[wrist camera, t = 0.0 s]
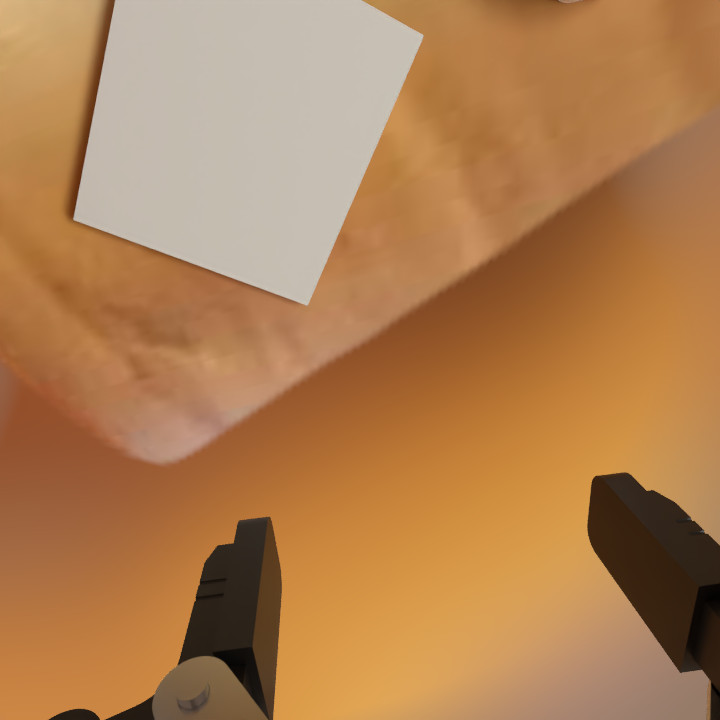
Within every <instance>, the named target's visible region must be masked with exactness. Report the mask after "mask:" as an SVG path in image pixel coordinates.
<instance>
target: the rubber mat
mask: <svg viewBox="0 0 720 720" xmlns="http://www.w3.org/2000/svg"><path fill="white" fill-rule="evenodd" d="M423 37H424V35H422V34H420V33H419V32H417V31H415V30H413V29H411V28H410V27H408V26H406V25H404V24H403V23H401V22H399V21H397V20H395V19H394V18H392V17H390V16H388V15H387V14H385V13H383V12H381V11H379V10H378V9H376V8H374V7H372V6H371V5H369V4H367V3H365V2H363V1H362V0H115V4H114V10H113V15H112V20H111V25H110V31H109V36H108V41H107V46H106V51H105V57H104V62H103V67H102V72H101V78H100V83H99V88H98V93H97V98H96V104H95V109H94V114H93V119H92V125H91V130H90V135H89V140H88V145H87V151H86V156H85V161H84V166H83V172H82V177H81V182H80V187H79V192H78V198H77V203H76V208H75V213H74V219H73V220H75V221H78V222H80V223H83V224H86V225H89V226H91V227H94V228H97V229H99V230H102V231H105V232H108V233H110V234H113V235H116V236H119V237H121V238H124V239H127V240H130V241H132V242H135V243H138V244H140V245H143V246H146V247H149V248H151V249H154V250H157V251H160V252H162V253H165V254H168V255H171V256H173V257H176V258H179V259H181V260H184V261H187V262H190V263H192V264H195V265H198V266H201V267H203V268H206V269H209V270H212V271H214V272H217V273H220V274H222V275H225V276H228V277H231V278H233V279H236V280H239V281H242V282H244V283H247V284H250V285H253V286H255V287H258V288H261V289H263V290H266V291H269V292H272V293H274V294H277V295H280V296H283V297H285V298H288V299H291V300H293V301H296V302H299V303H302V304H304V305H307V306H308V303H309V301H310V299H311V296H312V294H313V292H314V289H315V287H316V285H317V282H318V280H319V278H320V276H321V273H322V271H323V269H324V266H325V264H326V262H327V259H328V257H329V255H330V252H331V250H332V248H333V245H334V243H335V241H336V238H337V236H338V234H339V231H340V229H341V227H342V224H343V222H344V220H345V218H346V215H347V213H348V211H349V208H350V206H351V204H352V201H353V199H354V197H355V194H356V192H357V190H358V187H359V185H360V183H361V180H362V178H363V176H364V173H365V171H366V169H367V167H368V164H369V162H370V160H371V157H372V155H373V153H374V150H375V148H376V146H377V143H378V141H379V139H380V136H381V134H382V132H383V129H384V127H385V125H386V122H387V120H388V118H389V115H390V113H391V111H392V109H393V106H394V104H395V102H396V99H397V97H398V95H399V92H400V90H401V88H402V85H403V83H404V81H405V78H406V76H407V74H408V71H409V69H410V67H411V64H412V62H413V60H414V57H415V55H416V53H417V51H418V48H419V46H420V44H421V41H422V39H423Z"/></svg>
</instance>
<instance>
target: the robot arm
mask: <svg viewBox="0 0 720 720" xmlns="http://www.w3.org/2000/svg"><path fill="white" fill-rule="evenodd" d="M588 536H589V539H590V542H591V545H592V547H593V549H594V551H595V553H596V554H597V555H598V557H599V558H600V560H601V561H602V563H603V564H604V566H605V567H606V568H607V570H608V571H609V573H610V574H611V575H612V577H613V578H614V580H615V581H616V583H617V584H618V585H619V587H620V588H621V589H622V591H623V592H624V594H625V595H626V597H627V598H628V599H629V601H630V602H631V604H632V605H633V607H634V608H635V609H636V611H637V612H638V614H639V615H640V616H641V618H642V619H643V621H644V622H645V624H646V625H647V626H648V628H649V629H650V631H651V632H652V633H653V635H654V636H655V638H656V639H657V641H658V642H659V643H660V645H661V646H662V648H663V649H664V650H665V652H666V653H667V655H668V656H669V657H670V659H671V660H672V662H673V663H674V665H675V666H676V667H677V669H678V670H679V672H680V673H682V672H688V671H695V670H703V671H704V673H705V674H706V675H707V677H708V678H709V683H708V688H707V708H706V720H720V545H719V544H718V543H717V542H715V541H714V540H713V539H712V538H711V537H710V536H709V535H708V534H705V533H704V530H703V529H702V528H701V527H700V526H699V525H698V524H697V523H696V522H695V521H692V520H691V517H690V516H688V515H687V513H686V512H684V511H683V510H682V509H681V508H680V507H679V506H678V505H677V504H676V503H675V502H673V501H671V500H670V499H668V498H666V497H664V496H663V495H661V494H659V493H657V492H655V491H653V490H651V491H646V490H645V489H644V488H643V487H642V486H641V485H640V484H639V483H638V482H637V481H636V480H635V479H634V478H633V477H632V476H631V475H630V474H628V473H616V474H609V475H601V476H595V477H594V478H593V480H592V485H591V495H590V506H589V515H588ZM281 593H282V582H281V569H280V563H279V558H278V552H277V547H276V542H275V536H274V531H273V526H272V521H271V518H270V517H263V518H255V519H247V520H240V521H239V522H238V525H237V530H236V535H235V540H234V543H233V544H225V545H218V546H217V547H216V548H215V550H214V551H213V553H212V554H211V555H210V557H209V558H208V559H207V560H206V562H205V563H204V567H203V571H202V575H201V579H200V585H199V587H198V590H197V594H196V601H195V602H194V606H193V610H192V613H191V617H190V621H189V625H188V629H187V633H186V636H185V640H184V644H183V648H182V652H181V656H180V659H179V662H178V665H177V666H176V667H175V668H174V669H173V670H172V671H170V672H169V673H168V674H167V675H166V676H165V677H164V679H163V680H162V681H161V683H160V684H159V686H158V688H157V690H156V692H155V694H154V695H153V696H152V697H151V698H149V699H148V700H146V701H144V702H143V703H141V704H139V705H137V706H135V707H132V708H130V709H128V710H126V711H124V712H121V713H119V714H117V715H115V716H112V717H110V718H108V719H106V720H273V709H274V695H275V680H276V666H277V652H278V637H279V623H280V608H281ZM49 720H100V719H99V717H98V716H97V715H96V714H95V713H94V712H92V711H90V710H86V709H74V710H69V711H66V712H63V713H60V714H58V715H56V716H54V717H52V718H51V719H49Z"/></svg>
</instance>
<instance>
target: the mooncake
mask: <svg viewBox="0 0 720 720" xmlns="http://www.w3.org/2000/svg"><path fill="white" fill-rule="evenodd" d="M558 1H560V2H562V3H572V2H577V1H581V0H558Z"/></svg>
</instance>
